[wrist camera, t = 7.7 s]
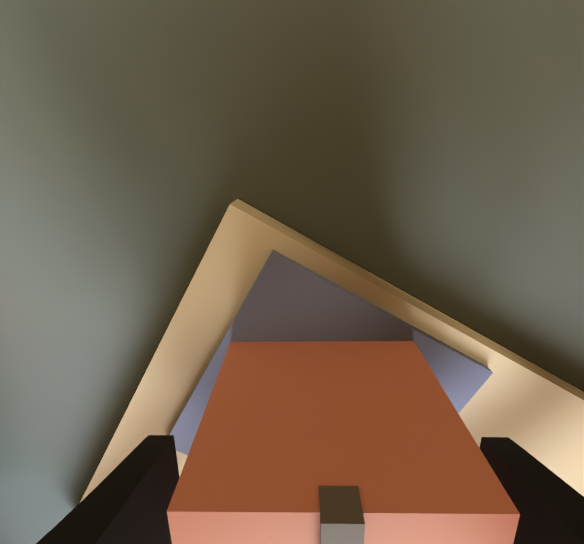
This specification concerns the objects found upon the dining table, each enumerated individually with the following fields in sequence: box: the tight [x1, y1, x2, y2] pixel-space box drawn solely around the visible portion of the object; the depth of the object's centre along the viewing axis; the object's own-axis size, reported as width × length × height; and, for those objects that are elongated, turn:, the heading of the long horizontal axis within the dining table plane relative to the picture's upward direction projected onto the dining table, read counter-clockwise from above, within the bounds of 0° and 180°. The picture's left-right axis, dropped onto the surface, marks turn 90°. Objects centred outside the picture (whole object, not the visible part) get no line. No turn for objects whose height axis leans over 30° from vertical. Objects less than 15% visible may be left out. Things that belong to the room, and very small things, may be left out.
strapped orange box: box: [167, 341, 520, 544], centre depth 8 cm, size 5×5×5 cm
